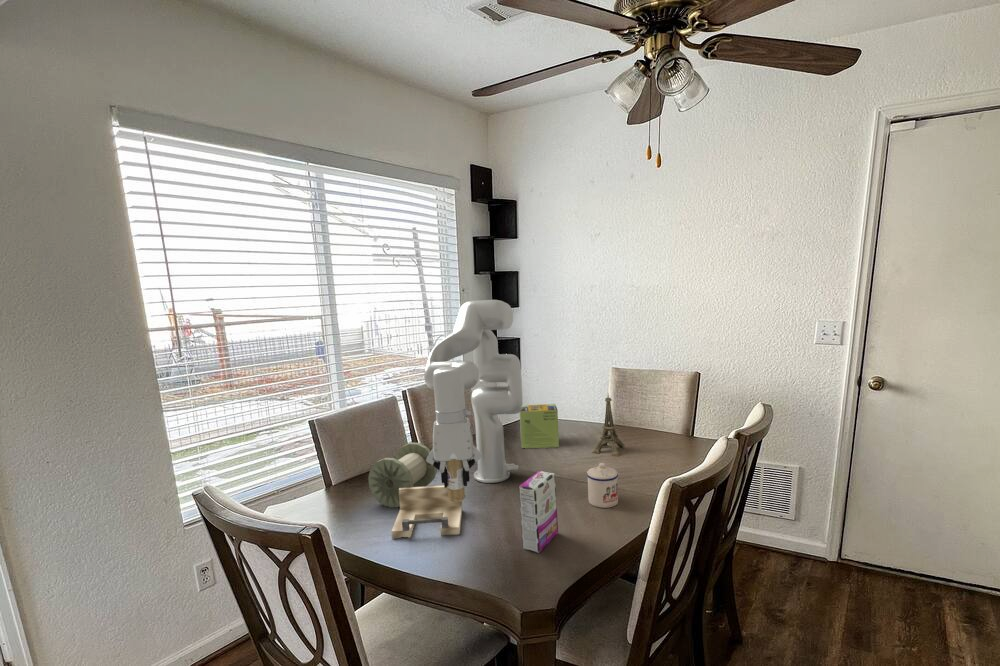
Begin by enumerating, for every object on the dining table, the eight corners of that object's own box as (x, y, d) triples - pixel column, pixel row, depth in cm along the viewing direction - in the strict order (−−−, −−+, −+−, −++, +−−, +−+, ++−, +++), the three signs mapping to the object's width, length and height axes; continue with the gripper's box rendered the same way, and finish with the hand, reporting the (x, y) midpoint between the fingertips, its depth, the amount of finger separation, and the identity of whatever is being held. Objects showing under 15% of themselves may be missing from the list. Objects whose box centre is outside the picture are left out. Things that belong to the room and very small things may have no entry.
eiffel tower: (627, 448, 189) (625, 385, 187) (618, 457, 181) (616, 391, 178) (601, 445, 195) (599, 384, 193) (591, 453, 186) (589, 389, 184)
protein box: (559, 447, 195) (558, 409, 194) (521, 449, 195) (519, 411, 194) (556, 439, 205) (555, 403, 204) (520, 441, 206) (518, 405, 204)
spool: (412, 510, 145) (409, 461, 144) (370, 504, 150) (366, 457, 149) (438, 488, 161) (435, 444, 159) (399, 483, 166) (396, 441, 165)
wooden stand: (462, 510, 143) (460, 484, 142) (459, 534, 129) (457, 505, 128) (401, 514, 143) (399, 488, 142) (391, 538, 128) (389, 509, 128)
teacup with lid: (607, 511, 137) (605, 472, 136) (581, 502, 144) (580, 464, 143) (630, 498, 146) (629, 460, 144) (605, 489, 152) (603, 453, 151)
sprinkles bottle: (444, 499, 125) (440, 449, 123) (457, 492, 128) (453, 444, 126) (457, 504, 122) (453, 453, 120) (469, 497, 125) (466, 447, 124)
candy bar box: (541, 529, 130) (539, 469, 128) (558, 533, 127) (556, 472, 125) (521, 549, 120) (517, 485, 119) (539, 554, 117) (536, 488, 116)
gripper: (484, 409, 126) (488, 476, 128) (419, 413, 126) (425, 480, 128) (484, 418, 119) (488, 489, 121) (415, 422, 118) (421, 493, 121)
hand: (455, 484), depth 124 cm, fingers closed on sprinkles bottle, 4 cm apart
